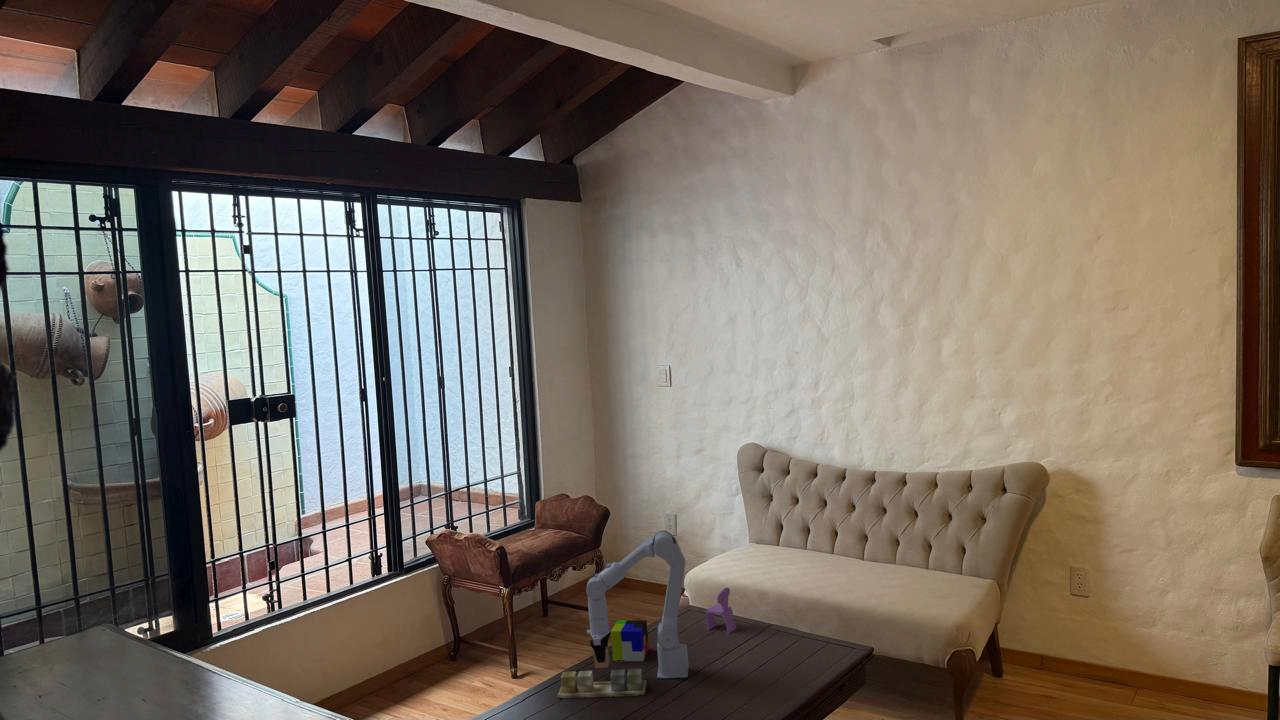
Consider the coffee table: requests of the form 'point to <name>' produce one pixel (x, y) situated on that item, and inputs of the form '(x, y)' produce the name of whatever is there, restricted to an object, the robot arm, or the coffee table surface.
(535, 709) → the coffee table surface
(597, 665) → the terracotta block
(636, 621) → the puzzle toy
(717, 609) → the toy chair
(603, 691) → the rack
